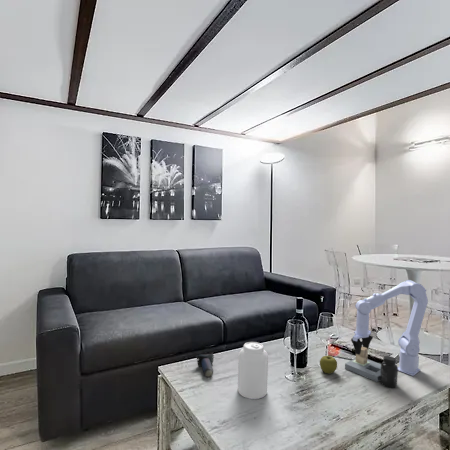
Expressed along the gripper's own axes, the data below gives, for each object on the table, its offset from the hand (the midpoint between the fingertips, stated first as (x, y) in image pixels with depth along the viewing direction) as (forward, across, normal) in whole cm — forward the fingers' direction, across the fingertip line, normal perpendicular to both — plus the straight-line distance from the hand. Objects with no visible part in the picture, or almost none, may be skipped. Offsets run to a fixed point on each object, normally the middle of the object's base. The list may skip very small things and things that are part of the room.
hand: (361, 351), depth 160 cm
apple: (+8, +18, -7) cm, 21 cm away
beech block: (+5, 0, 0) cm, 5 cm away
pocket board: (+8, +1, +4) cm, 9 cm away
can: (+8, +59, -17) cm, 62 cm away
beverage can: (+8, +64, -43) cm, 77 cm away
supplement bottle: (+8, +6, +16) cm, 19 cm away
